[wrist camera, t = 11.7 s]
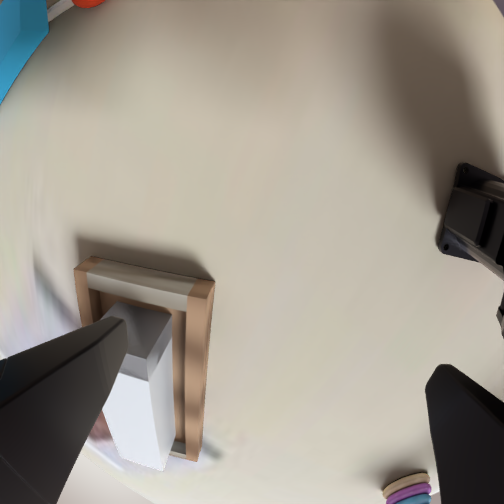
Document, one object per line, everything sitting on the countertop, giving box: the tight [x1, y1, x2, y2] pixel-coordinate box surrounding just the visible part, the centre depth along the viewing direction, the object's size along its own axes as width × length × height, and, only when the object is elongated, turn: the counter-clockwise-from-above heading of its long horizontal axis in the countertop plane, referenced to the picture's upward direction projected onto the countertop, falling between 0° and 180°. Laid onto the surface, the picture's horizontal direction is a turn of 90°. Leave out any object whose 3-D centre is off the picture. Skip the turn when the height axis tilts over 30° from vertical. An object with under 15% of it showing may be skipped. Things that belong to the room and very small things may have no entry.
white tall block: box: [100, 301, 176, 471], centre depth 21 cm, size 16×4×5 cm, turn 171°
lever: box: [0, 0, 105, 104], centre depth 13 cm, size 7×7×18 cm
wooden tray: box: [74, 256, 215, 462], centre depth 23 cm, size 21×10×2 cm, turn 171°
